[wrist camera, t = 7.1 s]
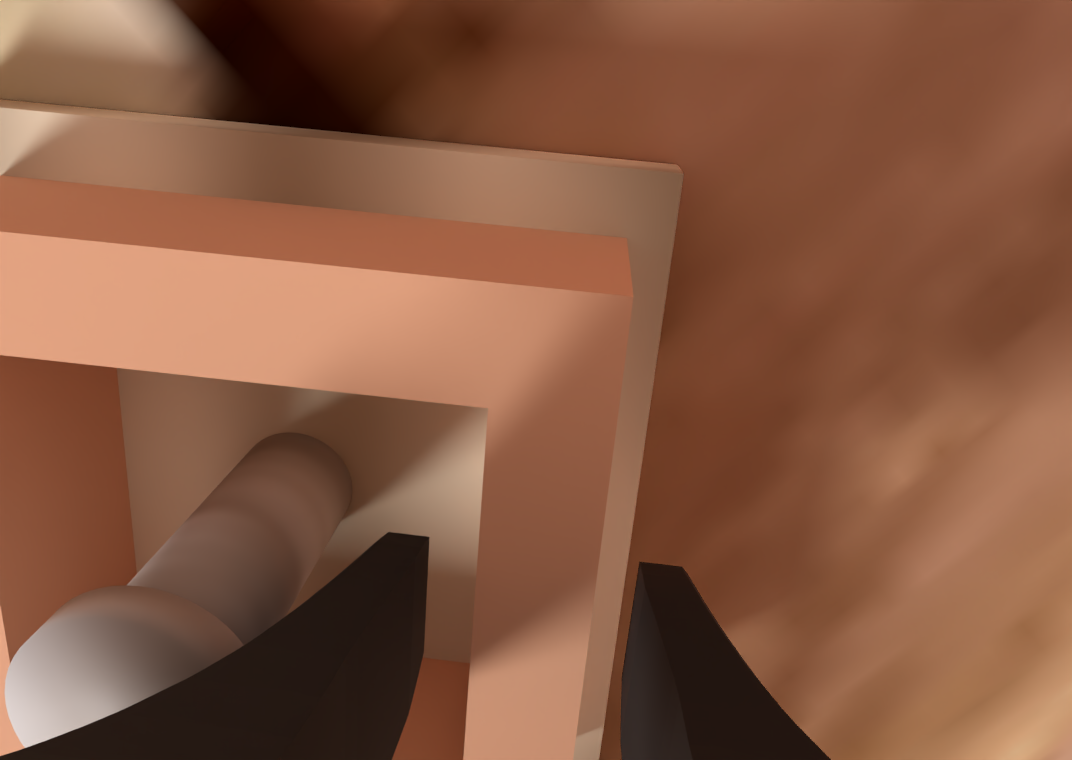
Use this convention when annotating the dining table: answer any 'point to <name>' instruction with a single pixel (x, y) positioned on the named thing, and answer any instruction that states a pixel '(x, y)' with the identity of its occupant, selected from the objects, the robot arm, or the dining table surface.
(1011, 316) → the dining table surface
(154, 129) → the thin beige base plate
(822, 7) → the dining table surface
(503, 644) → the pink square frame
